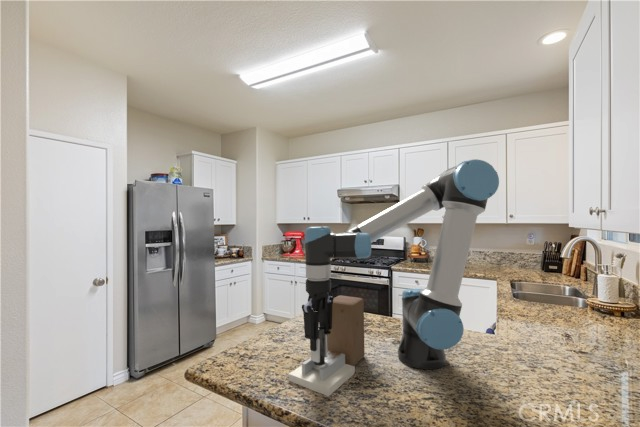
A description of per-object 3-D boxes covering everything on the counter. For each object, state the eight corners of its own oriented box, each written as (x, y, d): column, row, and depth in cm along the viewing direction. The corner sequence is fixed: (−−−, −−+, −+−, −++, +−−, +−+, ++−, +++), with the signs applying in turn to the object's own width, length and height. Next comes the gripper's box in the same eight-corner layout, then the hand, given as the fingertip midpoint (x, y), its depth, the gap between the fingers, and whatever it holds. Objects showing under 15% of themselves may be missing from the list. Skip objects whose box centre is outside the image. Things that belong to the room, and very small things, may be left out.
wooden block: (353, 369, 93) (352, 304, 93) (325, 361, 98) (324, 300, 99) (365, 356, 101) (364, 297, 102) (340, 350, 106) (339, 294, 107)
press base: (354, 373, 90) (354, 356, 90) (328, 396, 78) (328, 377, 78) (317, 361, 98) (317, 346, 98) (288, 380, 86) (288, 363, 86)
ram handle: (341, 361, 93) (340, 321, 94) (322, 375, 84) (321, 331, 85) (329, 357, 96) (329, 319, 96) (310, 371, 87) (309, 328, 87)
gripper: (323, 273, 97) (324, 345, 96) (290, 281, 83) (291, 366, 83) (343, 275, 92) (344, 351, 92) (312, 284, 79) (313, 373, 78)
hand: (319, 358), depth 87 cm, fingers closed on ram handle, 3 cm apart
